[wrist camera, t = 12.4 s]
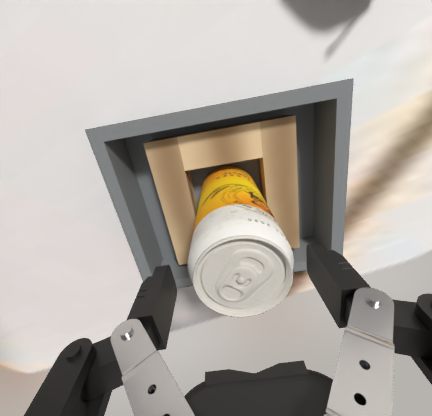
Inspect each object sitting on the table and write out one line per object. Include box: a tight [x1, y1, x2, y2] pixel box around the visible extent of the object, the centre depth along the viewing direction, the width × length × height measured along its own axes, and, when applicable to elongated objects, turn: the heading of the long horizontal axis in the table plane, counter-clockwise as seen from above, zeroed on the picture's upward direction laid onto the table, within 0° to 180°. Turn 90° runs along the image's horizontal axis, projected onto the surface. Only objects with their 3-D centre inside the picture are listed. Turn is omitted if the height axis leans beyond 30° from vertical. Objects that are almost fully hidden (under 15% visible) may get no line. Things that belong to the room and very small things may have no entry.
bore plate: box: [143, 115, 300, 265], centre depth 24 cm, size 14×14×3 cm
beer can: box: [188, 166, 294, 317], centre depth 19 cm, size 6×6×15 cm
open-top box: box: [85, 78, 353, 288], centre depth 24 cm, size 22×18×6 cm
